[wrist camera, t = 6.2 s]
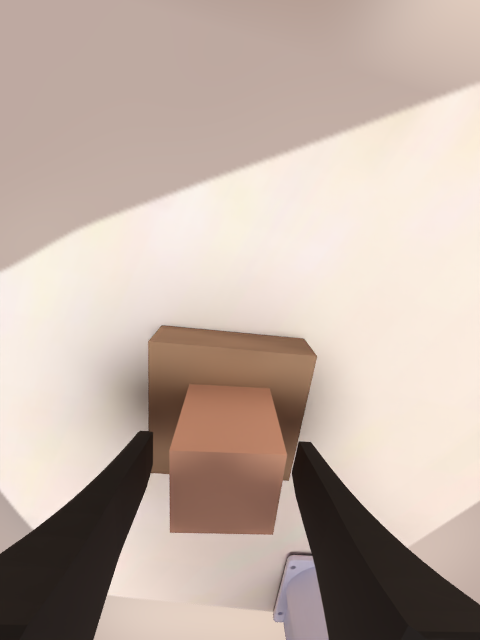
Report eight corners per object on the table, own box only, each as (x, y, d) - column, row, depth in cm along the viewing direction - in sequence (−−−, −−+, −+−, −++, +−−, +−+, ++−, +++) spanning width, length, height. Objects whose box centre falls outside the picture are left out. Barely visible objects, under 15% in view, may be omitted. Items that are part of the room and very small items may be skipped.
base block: (281, 449, 18) (288, 480, 16) (159, 441, 18) (148, 472, 15) (303, 338, 15) (317, 356, 13) (161, 325, 15) (148, 341, 13)
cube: (261, 451, 15) (272, 534, 11) (188, 448, 15) (170, 532, 10) (269, 388, 14) (287, 454, 9) (189, 384, 13) (169, 450, 9)
